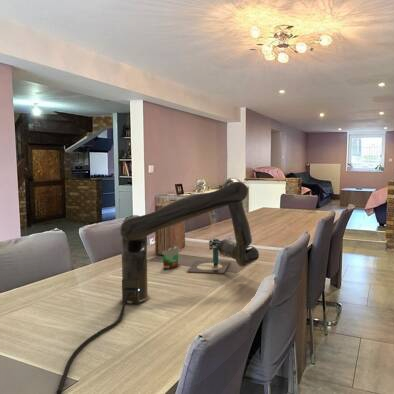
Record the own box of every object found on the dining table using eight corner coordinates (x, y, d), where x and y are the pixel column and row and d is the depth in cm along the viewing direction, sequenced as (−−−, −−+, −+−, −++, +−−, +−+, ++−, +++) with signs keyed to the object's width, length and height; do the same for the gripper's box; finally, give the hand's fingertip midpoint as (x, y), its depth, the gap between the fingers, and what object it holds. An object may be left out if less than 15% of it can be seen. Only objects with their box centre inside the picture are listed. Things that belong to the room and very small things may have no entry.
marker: (217, 266, 175) (217, 239, 174) (212, 266, 175) (212, 239, 174) (218, 264, 178) (218, 238, 177) (213, 264, 178) (213, 238, 177)
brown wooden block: (170, 256, 195) (169, 204, 192) (155, 255, 196) (154, 204, 193) (185, 245, 221) (184, 200, 218) (171, 245, 222) (171, 199, 219)
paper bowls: (232, 257, 196) (232, 243, 195) (214, 252, 205) (214, 239, 204) (249, 251, 208) (249, 239, 207) (231, 247, 217) (231, 235, 216)
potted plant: (173, 270, 169) (173, 251, 168) (162, 269, 170) (161, 250, 169) (184, 263, 181) (183, 245, 180) (173, 263, 182) (173, 244, 181)
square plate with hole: (223, 274, 165) (223, 272, 165) (187, 272, 167) (187, 271, 167) (229, 263, 183) (229, 262, 183) (197, 262, 185) (197, 260, 185)
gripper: (241, 239, 168) (224, 233, 182) (216, 242, 160) (200, 236, 174) (241, 254, 168) (224, 247, 182) (216, 258, 160) (200, 250, 174)
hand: (213, 241), depth 178 cm, fingers closed on marker, 2 cm apart
